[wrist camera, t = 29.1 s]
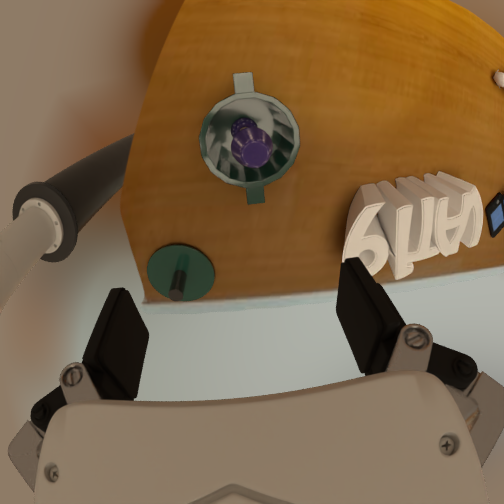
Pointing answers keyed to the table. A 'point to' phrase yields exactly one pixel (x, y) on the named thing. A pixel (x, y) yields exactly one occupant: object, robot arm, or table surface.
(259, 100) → the pot
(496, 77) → the beige lumpy figure
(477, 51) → the table surface
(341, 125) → the table surface
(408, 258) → the wavy white extrusion
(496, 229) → the handheld console
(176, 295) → the lid
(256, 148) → the toy lamp
